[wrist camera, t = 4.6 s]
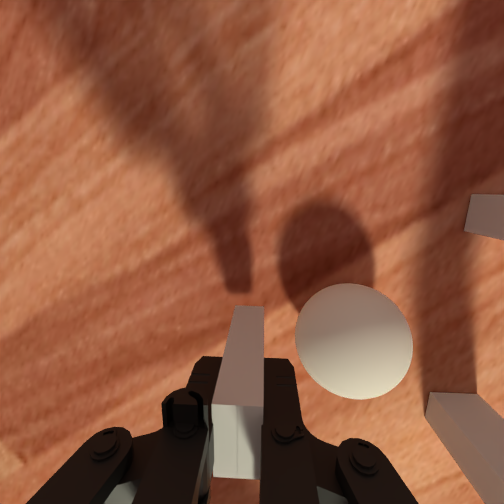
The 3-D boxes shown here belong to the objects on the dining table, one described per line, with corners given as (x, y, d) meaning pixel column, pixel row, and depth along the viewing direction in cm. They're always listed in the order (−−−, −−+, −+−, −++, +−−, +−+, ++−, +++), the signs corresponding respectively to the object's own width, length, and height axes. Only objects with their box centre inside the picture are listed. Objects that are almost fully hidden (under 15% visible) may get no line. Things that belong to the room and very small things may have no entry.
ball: (408, 449, 11) (402, 368, 16) (428, 324, 10) (415, 277, 14) (278, 402, 13) (308, 344, 18) (281, 297, 12) (312, 265, 17)
